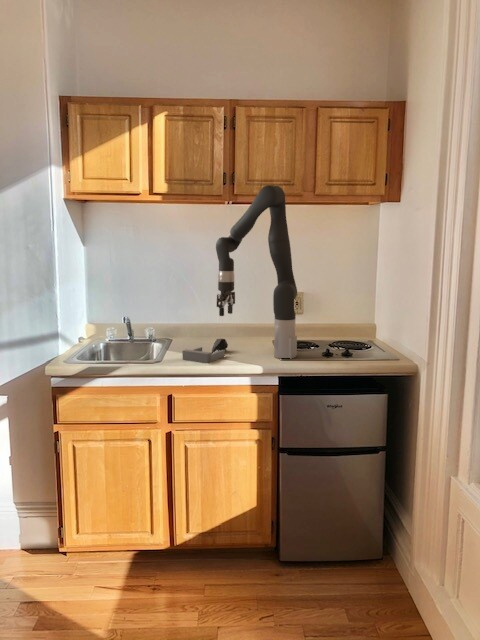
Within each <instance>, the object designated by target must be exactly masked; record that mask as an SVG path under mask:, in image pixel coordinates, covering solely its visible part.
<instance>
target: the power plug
mask: <svg viewBox="0 0 480 640" xmlns="http://www.w3.org/2000/svg"><path fill="white" fill-rule="evenodd" d="M228 346H229V344H228V342H227V339H226V338H216V340H215V341H214V343H213V346H212V348H211V352H210V353H211V354H212V353H215V352H218V351H221V350H225V352H227V351H228V349H227V348H228Z"/></svg>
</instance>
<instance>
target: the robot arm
mask: <svg viewBox="0 0 480 640" xmlns="http://www.w3.org/2000/svg"><path fill="white" fill-rule="evenodd" d="M286 208H287V207H286V194H285V191H284V190H283V188H282V187H281V186H279V185H273V184H272V185H271V184H267V185H264V186H263V187H261V189H260V190H259V191H258V193H257V195H256V196H255V197H254V200H253V201H252V203H251V204H250V205H249V207H248V208H247V210H246V211H245V212H244V213H243V214H242V216H241V217H240V218H239V219H238V220H237V221H236V222H235V224H234V225H233V226H232V227H231V228H230V230H229V233H230V235H229V236H228V237H227V236H222V237H219V238H218V239H217V240H216V243H215V252H216V255H217V259H218V273H217V275H218V276H217V278H218V279H217V281H218V282H217V291H220V293H217V294H216V307H217V308H218V311H219V312H218V313H219V317H224V316H225V307H226V305H227V314H228V315H229V314H230V315H232V314H233V310H234V309H233V307H234V305H235V304H236V292H235V260H234V259H233V258H232V257H230V253H233V252H234V251H236V250H237V249H238V248H239V246H240V244H242V241H243V239H244V238H245V237H246V236H247V235H248V234H249V233H250V232H251V231H252V229H253V228H254V226H255V224H256V223H257V220H258V219H259V218H260V216H261V215H262V214H263V213H264V212H265V211H266V210H267V209H269V214H270V226H269V229H268V236H267V239H268V240H267V242H268V250H269V254H270V258H271V260H272V264H273V267H274V269H275V272H276V277H277V285H276V287H275V288H274V289H273V295H272V296H273V297H272V299H273V301H272V302H273V303H272V305H273V313H274V330H273V331H274V334H273V335H274V339H273V342H274V345H273V347H274V349H273V350H274V351H273V356H274V358H276V359H281V358H290V359H289V360H291V359H294V358H296V357H297V349H298V348H297V345H298V344H297V343H298V335H297V334H296V311H295V299H296V298H297V296H298V288H297V284H296V280H295V277H294V272H293V271H294V270H293V261H292V251H291V241H290V236H289V227H288V222H287V209H286Z"/></svg>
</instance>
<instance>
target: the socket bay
mask: <svg viewBox="0 0 480 640" xmlns="http://www.w3.org/2000/svg"><path fill="white" fill-rule="evenodd" d="M181 353H182V360H183V361H190V362H196V363H197V362H198V363H204V364H209V363H211V362H212V363H213V362H215V361H217V360H219V359H222V358H225V357H224V356H226V355H225V353H226V351H225V350H221V351H220V350H219V351H218V350H217V351H215V352H213V353H212V354H211V352H208V351H203V346H199V347H195V348H193V349H187V348H186V349H183V350H182V352H181Z"/></svg>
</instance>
